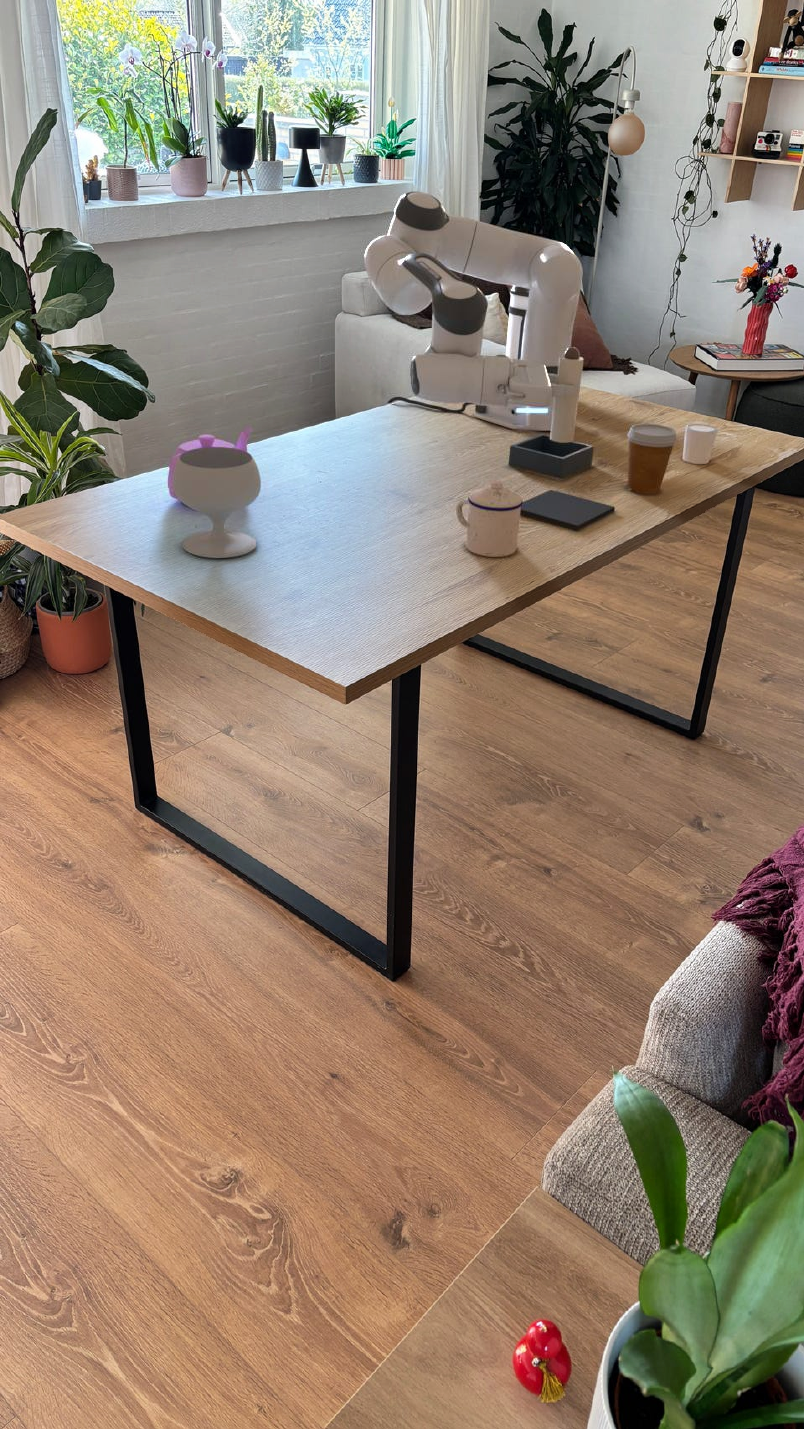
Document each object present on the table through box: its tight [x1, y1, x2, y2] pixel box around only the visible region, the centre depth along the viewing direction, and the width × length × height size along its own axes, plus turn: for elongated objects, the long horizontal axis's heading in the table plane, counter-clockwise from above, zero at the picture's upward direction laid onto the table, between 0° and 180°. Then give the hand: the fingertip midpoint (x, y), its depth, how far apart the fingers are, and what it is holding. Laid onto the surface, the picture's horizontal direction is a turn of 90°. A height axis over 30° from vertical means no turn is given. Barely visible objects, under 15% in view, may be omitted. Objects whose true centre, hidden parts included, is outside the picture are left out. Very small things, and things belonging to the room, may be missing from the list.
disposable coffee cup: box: [626, 423, 678, 496], centre depth 213 cm, size 10×10×12 cm
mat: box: [520, 489, 616, 532], centre depth 202 cm, size 14×14×1 cm
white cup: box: [682, 423, 719, 465], centre depth 234 cm, size 7×7×7 cm
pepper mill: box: [549, 346, 585, 443], centre depth 201 cm, size 4×4×17 cm
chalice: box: [173, 447, 262, 559], centre depth 176 cm, size 14×14×15 cm
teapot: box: [167, 427, 254, 502], centre depth 198 cm, size 20×13×12 cm, turn 141°
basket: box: [508, 433, 595, 480], centre depth 225 cm, size 13×13×5 cm
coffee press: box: [505, 285, 530, 359], centre depth 276 cm, size 17×16×30 cm
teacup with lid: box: [455, 480, 524, 558], centre depth 183 cm, size 12×9×12 cm
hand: (573, 386), depth 200 cm, fingers closed on pepper mill, 4 cm apart
